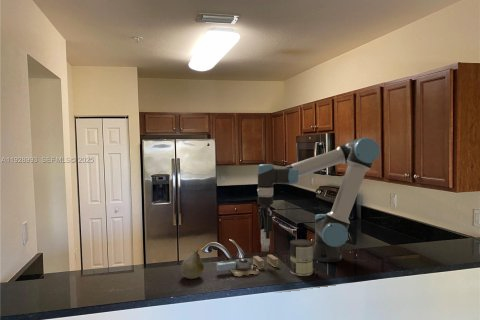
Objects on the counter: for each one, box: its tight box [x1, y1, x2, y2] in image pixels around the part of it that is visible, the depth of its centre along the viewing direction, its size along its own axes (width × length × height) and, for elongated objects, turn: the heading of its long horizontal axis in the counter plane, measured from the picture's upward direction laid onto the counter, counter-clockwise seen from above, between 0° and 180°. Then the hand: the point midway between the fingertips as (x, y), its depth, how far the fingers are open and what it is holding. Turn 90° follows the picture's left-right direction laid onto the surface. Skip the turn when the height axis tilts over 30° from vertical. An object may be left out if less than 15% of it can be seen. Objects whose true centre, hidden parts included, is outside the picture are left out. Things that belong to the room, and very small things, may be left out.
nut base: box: [229, 265, 260, 277], centre depth 164 cm, size 11×11×3 cm
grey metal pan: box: [216, 257, 253, 272], centre depth 162 cm, size 16×8×4 cm, turn 109°
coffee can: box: [289, 238, 314, 277], centre depth 162 cm, size 10×10×14 cm
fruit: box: [180, 249, 205, 280], centre depth 156 cm, size 10×9×12 cm
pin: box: [261, 229, 270, 252], centre depth 171 cm, size 4×4×10 cm
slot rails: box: [252, 254, 279, 270], centre depth 172 cm, size 10×8×4 cm
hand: (265, 243), depth 171 cm, fingers closed on pin, 3 cm apart
